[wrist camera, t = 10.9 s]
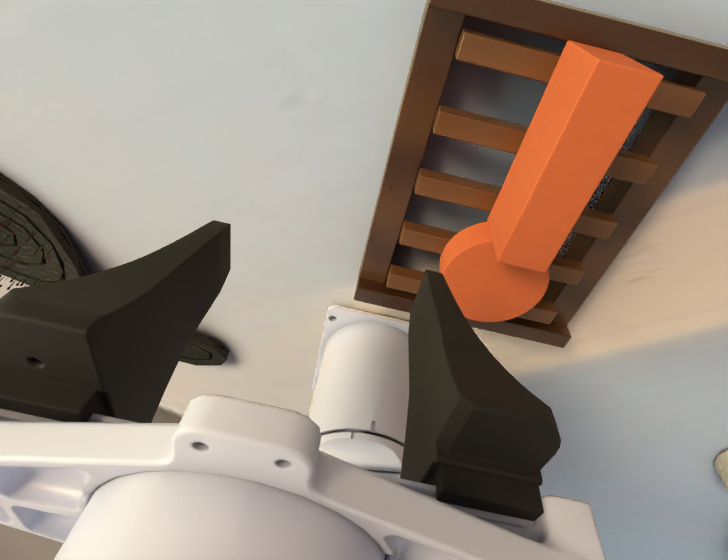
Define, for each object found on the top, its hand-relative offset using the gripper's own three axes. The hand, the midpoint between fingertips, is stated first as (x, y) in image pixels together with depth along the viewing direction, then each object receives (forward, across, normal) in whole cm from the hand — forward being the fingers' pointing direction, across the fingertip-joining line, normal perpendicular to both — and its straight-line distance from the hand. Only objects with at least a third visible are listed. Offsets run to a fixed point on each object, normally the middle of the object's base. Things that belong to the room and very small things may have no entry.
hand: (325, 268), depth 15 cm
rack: (+9, -8, -1) cm, 12 cm away
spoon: (+7, -8, -1) cm, 10 cm away
